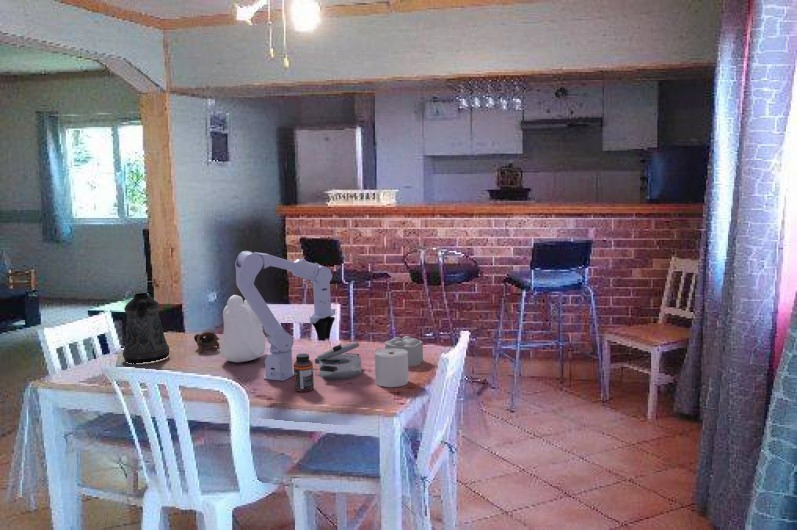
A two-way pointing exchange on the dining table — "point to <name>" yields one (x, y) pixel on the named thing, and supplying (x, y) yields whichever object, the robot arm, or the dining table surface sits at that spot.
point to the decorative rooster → (241, 332)
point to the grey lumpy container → (408, 348)
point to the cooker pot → (340, 366)
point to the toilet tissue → (391, 367)
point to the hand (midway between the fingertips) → (324, 339)
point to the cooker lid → (338, 350)
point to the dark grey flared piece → (144, 331)
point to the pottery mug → (206, 341)
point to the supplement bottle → (303, 373)
